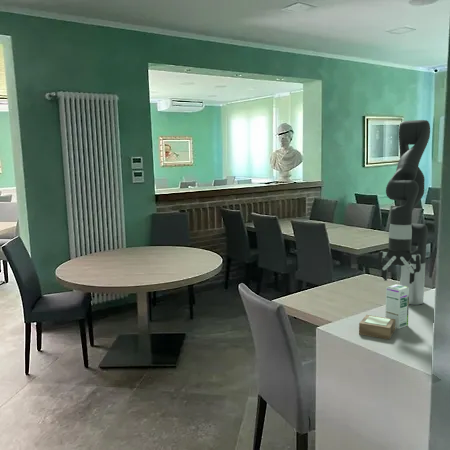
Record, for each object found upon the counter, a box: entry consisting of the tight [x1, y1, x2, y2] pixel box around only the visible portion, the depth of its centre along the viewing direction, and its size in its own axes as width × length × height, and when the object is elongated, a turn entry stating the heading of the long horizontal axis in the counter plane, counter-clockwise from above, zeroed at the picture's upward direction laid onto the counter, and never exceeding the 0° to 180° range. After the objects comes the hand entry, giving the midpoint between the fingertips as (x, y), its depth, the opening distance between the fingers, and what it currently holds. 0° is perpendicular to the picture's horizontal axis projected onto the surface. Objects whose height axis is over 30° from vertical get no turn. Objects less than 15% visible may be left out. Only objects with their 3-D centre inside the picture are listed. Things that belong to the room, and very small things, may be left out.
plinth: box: [358, 314, 396, 340], centre depth 161 cm, size 10×10×4 cm
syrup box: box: [385, 283, 410, 330], centre depth 167 cm, size 6×6×14 cm
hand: (398, 281), depth 166 cm, fingers open, 8 cm apart
